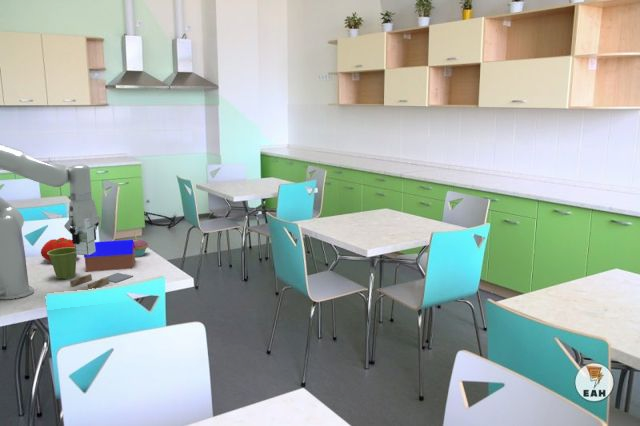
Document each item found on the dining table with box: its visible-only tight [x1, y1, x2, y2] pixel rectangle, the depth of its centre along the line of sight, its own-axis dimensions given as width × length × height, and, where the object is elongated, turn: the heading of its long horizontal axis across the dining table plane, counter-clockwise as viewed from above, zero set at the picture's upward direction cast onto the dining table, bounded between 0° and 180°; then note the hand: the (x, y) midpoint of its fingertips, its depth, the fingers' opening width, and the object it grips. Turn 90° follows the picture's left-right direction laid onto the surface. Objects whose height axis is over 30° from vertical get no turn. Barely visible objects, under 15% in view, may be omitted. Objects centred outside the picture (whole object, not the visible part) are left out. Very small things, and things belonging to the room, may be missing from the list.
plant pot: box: [47, 247, 78, 280], centre depth 228 cm, size 12×12×11 cm
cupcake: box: [133, 230, 149, 257], centre depth 260 cm, size 9×8×12 cm
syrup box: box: [73, 218, 96, 256], centre depth 214 cm, size 6×6×14 cm
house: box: [83, 239, 136, 273], centre depth 243 cm, size 12×20×12 cm, turn 104°
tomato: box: [40, 237, 75, 262], centre depth 252 cm, size 14×16×10 cm
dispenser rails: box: [69, 273, 110, 290], centre depth 218 cm, size 10×11×2 cm
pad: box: [99, 272, 134, 284], centre depth 227 cm, size 9×9×1 cm
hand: (84, 241), depth 215 cm, fingers closed on syrup box, 7 cm apart
